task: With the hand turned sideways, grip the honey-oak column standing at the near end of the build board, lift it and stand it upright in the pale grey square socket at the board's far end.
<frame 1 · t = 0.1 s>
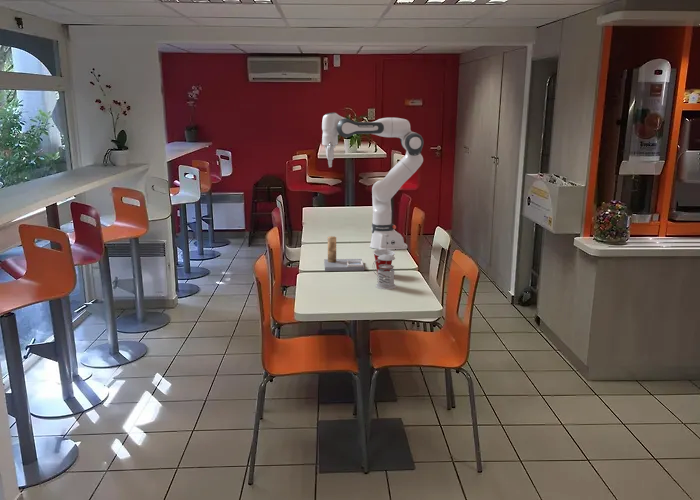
hand: (329, 166, 336), 48 cm above the table, tool pointing down, fingers open, 8 cm apart
build board: (343, 266, 306), on the table
oak column: (332, 261, 308), point 2 cm above the table, touching build board
plastic cup: (383, 275, 291), on the table
french press: (384, 286, 273), on the table
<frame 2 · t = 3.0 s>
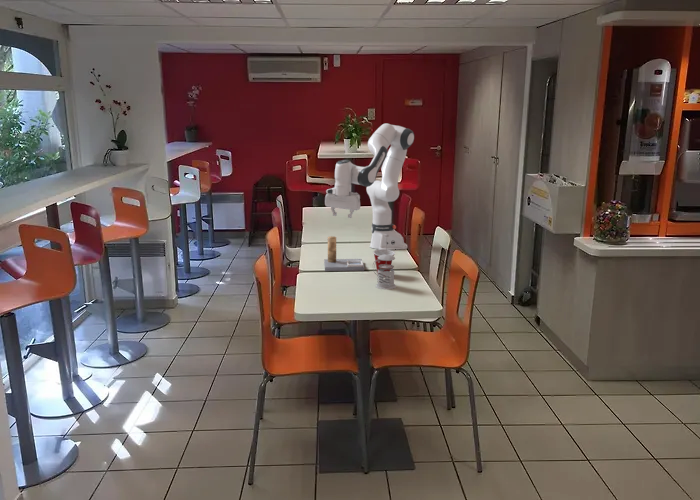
hand: (342, 216, 314), 24 cm above the table, tool pointing down, fingers open, 8 cm apart
nothing on the table moved.
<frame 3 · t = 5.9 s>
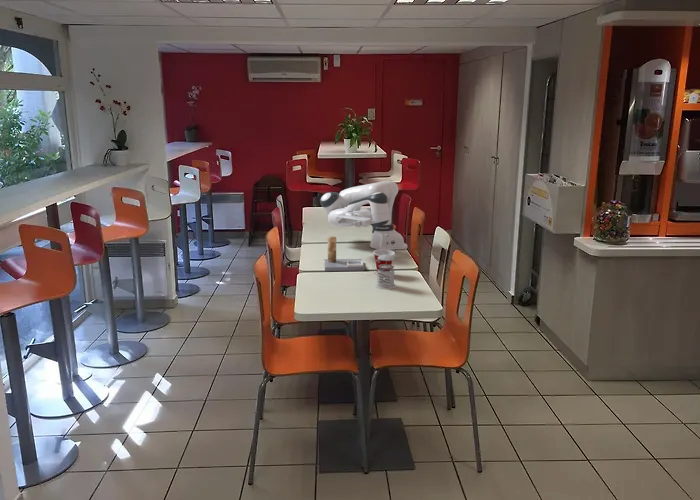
hand: (345, 222, 313), 21 cm above the table, tool horizontal, fingers open, 8 cm apart
nothing on the table moved.
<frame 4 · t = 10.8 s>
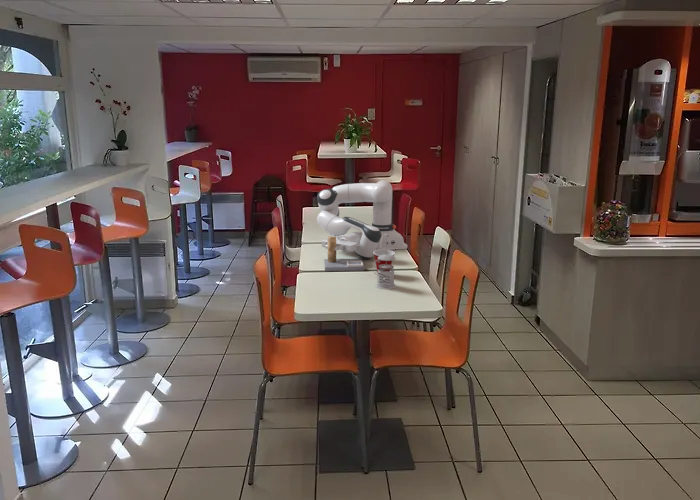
hand: (331, 247, 306), 10 cm above the table, tool horizontal, fingers closed on oak column, 4 cm apart
oak column: (332, 261, 308), point 2 cm above the table, touching build board, gripper
everything else where it was.
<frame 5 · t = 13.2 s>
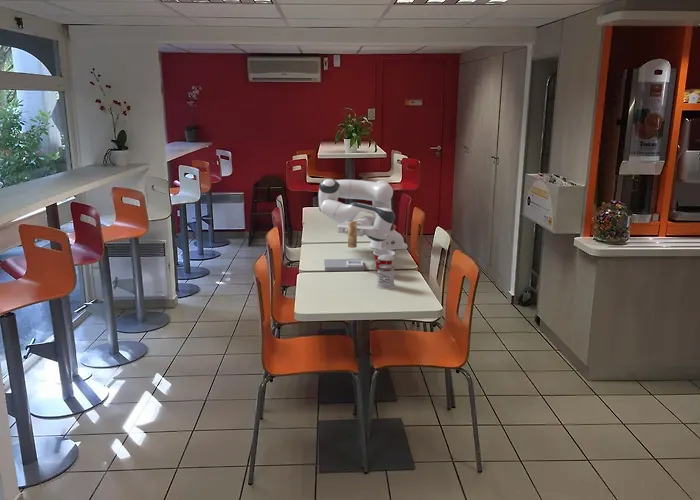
hand: (351, 232, 298), 19 cm above the table, tool horizontal, fingers closed on oak column, 4 cm apart
oak column: (352, 246, 300), point 11 cm above the table, touching gripper
everything else where it was.
when the fingers open (11 cm above the table, at t = 15.7 s): oak column drops 1 cm, resting on build board.
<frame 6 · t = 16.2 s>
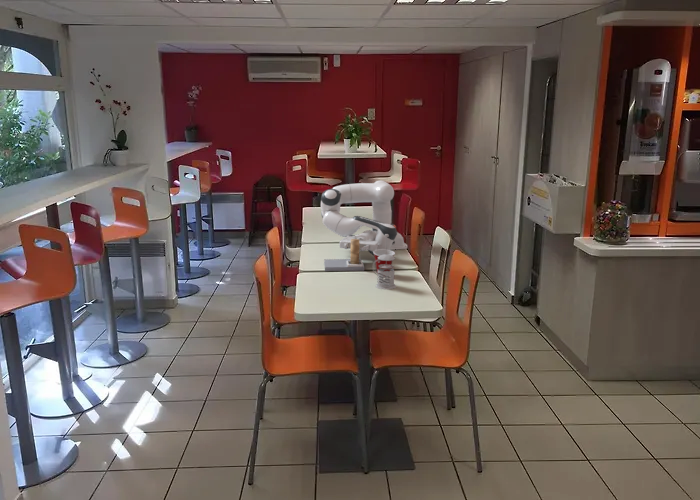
hand: (354, 248, 299), 11 cm above the table, tool horizontal, fingers open, 8 cm apart
oak column: (354, 264, 302), point 2 cm above the table, touching build board
everything else where it was.
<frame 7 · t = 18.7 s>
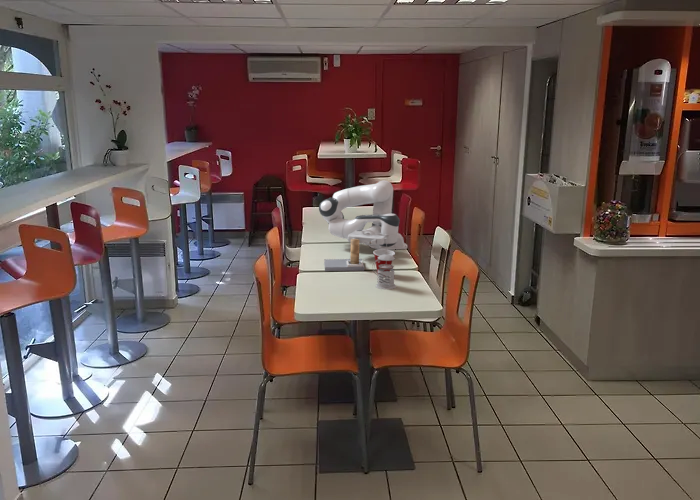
hand: (362, 242, 311), 11 cm above the table, tool horizontal, fingers open, 8 cm apart
nothing on the table moved.
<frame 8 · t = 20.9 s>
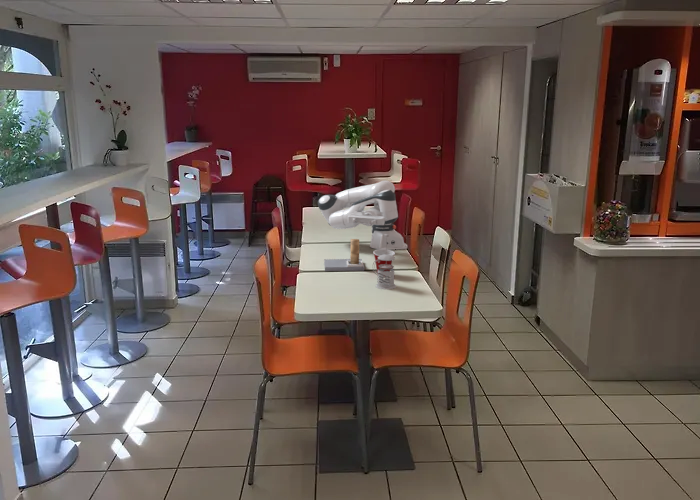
hand: (362, 222, 308), 22 cm above the table, tool horizontal, fingers open, 8 cm apart
nothing on the table moved.
at the end: oak column 0.0 cm from the target spot on the build board, point 2.1 cm above the build board's base; oak column tilted 1°; the gripper is holding nothing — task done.
